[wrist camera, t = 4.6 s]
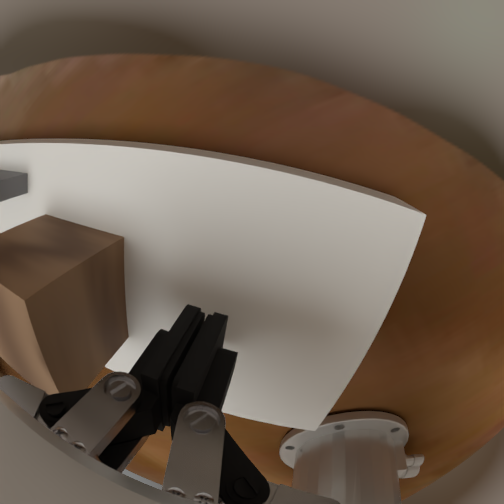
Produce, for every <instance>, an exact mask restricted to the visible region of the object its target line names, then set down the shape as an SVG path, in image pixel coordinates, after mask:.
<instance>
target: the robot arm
mask: <svg viewBox="0 0 504 504" xmlns="http://www.w3.org/2000/svg"><path fill="white" fill-rule="evenodd" d="M204 320H205V321H204ZM227 321H228V315H224V314H220V313H217V312H214V314H213V315H211V314H208V315H207V317H206V319H205V313H204V312H201V308H199V307H196V306H192V305H189V304H187V305H186V306H185V308H184V309H183V311H182V312H181V314H180V315H179V317H178V318H177V320H176V321H175V323H174V324H173V326H172V327H171V328H170V330H169V331H166V330H163V329H160V330H159V331H158V332H157V333H156V335H155V336H154V338H153V339H152V340H151V342H150V343H149V345H148V346H147V347H146V349H145V350H144V352H143V353H142V354H141V356H140V357H139V359H138V360H137V362H136V363H135V364H134V366H133V367H132V369H131V370H130V372H129V373H126V372H112V373H109V374H107V375H106V376H105V377H103V378H102V379H101V380H100V381H99V382H98V383H97V384H96V385H95V386H94V387H93V388H89V389H83V390H77V391H70V392H63V393H56V394H51V395H49V394H47V393H46V391H44V390H42V389H39V388H37V387H35V386H33V385H30V384H28V383H26V382H24V381H22V380H20V379H18V378H16V377H14V376H10V375H7V376H3V377H1V378H0V504H401V495H400V485H399V478H401V479H402V478H410V477H415V476H417V474H418V473H419V470H420V465H422V463H423V461H424V455H423V454H413V455H406V454H405V451H404V446H405V445H406V443H407V441H408V437H409V433H408V428H407V425H406V423H405V421H404V420H403V419H401V418H400V417H398V416H396V415H393V414H390V413H385V412H378V411H355V412H346V413H339V414H334V415H329V416H326V417H325V418H324V420H323V421H322V423H321V424H320V425H319V427H318V428H317V429H316V431H311V430H304V429H297V428H295V429H293V430H292V431H290V432H289V433H288V434H286V435H285V437H284V438H283V439H282V441H281V445H280V452H279V455H280V458H281V460H282V461H283V462H284V463H285V464H286V465H288V466H289V467H291V468H293V469H294V472H293V480H292V487H289V486H286V485H283V484H280V485H277V484H274V483H271V482H269V481H267V480H266V479H265V477H264V476H263V475H262V474H261V473H260V472H259V470H258V469H257V468H256V467H255V466H254V465H253V463H252V462H251V461H250V460H249V459H248V457H247V456H246V455H245V454H244V452H243V451H242V450H241V449H240V447H239V446H238V445H237V444H236V442H235V441H234V440H233V438H232V437H231V436H230V434H229V433H228V432H227V430H226V429H225V424H226V423H225V417H224V415H223V413H222V407H223V404H224V401H225V398H226V395H227V392H228V389H229V385H230V382H231V379H232V375H233V372H234V368H235V364H236V360H237V355H238V352H235V351H231V350H228V349H224V348H223V343H224V338H225V332H226V327H227ZM165 426H169V427H170V426H171V437H172V445H171V450H170V454H169V459H168V463H167V468H166V472H165V477H164V482H163V487H162V490H159V489H156V488H154V487H152V486H149V485H147V484H144V483H142V482H140V481H137V480H135V479H133V478H131V477H128V476H126V475H124V474H122V472H123V471H124V469H125V468H126V467H127V465H128V464H129V463H130V461H131V460H132V459H133V457H134V456H135V455H136V454H137V452H138V451H139V450H140V448H141V447H142V446H143V444H144V443H145V442H146V440H147V439H148V437H149V435H152V434H155V433H156V431H157V429H158V430H160V431H163V430H164V428H165Z"/></svg>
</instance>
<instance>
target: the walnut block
mask: <svg viewBox="0 0 504 504" xmlns="http://www.w3.org/2000/svg"><path fill="white" fill-rule="evenodd" d="M128 337H129V335H128V325H127V313H126V298H125V276H124V237H122V236H119V235H115V234H112V233H108V232H105V231H101V230H98V229H94V228H91V227H87V226H84V225H80V224H77V223H74V222H70V221H67V220H63V219H60V218H57V217H53V216H50V215H47V214H45V215H42V216H40V217H37V218H35V219H32V220H30V221H27V222H25V223H23V224H20V225H18V226H16V227H13V228H11V229H9V230H7V231H4V232H2V233H0V357H1V358H2V359H3V360H4V361H5V362H7V363H8V364H9V365H10V366H11V367H12V368H13V369H14V370H15V371H16V372H18V373H19V374H20V375H21V376H22V377H23V378H25V379H26V380H27V381H28V382H29V383H31V384H32V385H33V386H35V387H37V388H39V389H42V390H44V391H46V393H47V394H49V395H51V394H56V393H63V392H70V391H77V390H83V389H87V387H88V386H89V385H90V384H91V382H92V381H93V380H94V379H95V377H96V376H97V375H98V374H99V372H100V371H101V370H102V369H103V368H104V366H105V365H106V364H107V363H108V361H109V360H110V359H111V358H112V357H113V355H114V354H115V353H116V352H117V351H118V349H119V348H120V347H121V346H122V345H123V343H124V342H125V341H126V340H127V339H128Z"/></svg>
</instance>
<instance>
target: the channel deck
mask: <svg viewBox="0 0 504 504" xmlns="http://www.w3.org/2000/svg"><path fill="white" fill-rule="evenodd" d="M45 214H47V215H50V216H53V217H57V218H60V219H63V220H67V221H70V222H74V223H77V224H80V225H84V226H87V227H91V228H94V229H98V230H101V231H105V232H108V233H112V234H115V235H119V236H122V237H124V276H125V298H126V313H127V325H128V335H129V337H128V339H127V340H126V341H125V342H124V343H123V345H122V346H121V347H120V348H119V349H118V351H117V352H116V353H115V354H114V355H113V357H112V358H111V359H110V360H109V361H108V363H107V364H106V365H105V367H107V368H109V369H111V370H113V371H115V372H126V373H129V372H130V370H131V369H132V367H133V366H134V364H135V363H136V362H137V360H138V359H139V357H140V356H141V354H142V353H143V352H144V350H145V349H146V347H147V346H148V345H149V343H150V342H151V340H152V339H153V338H154V336H155V335H156V333H157V332H158V331H159V330H160V329H163V330H166V331H169V330H170V328H171V327H172V326H173V324H174V323H175V321H176V320H177V318H178V317H179V315H180V314H181V312H182V311H183V309H184V308H185V306H186V305H187V304H189V305H192V306H196V307H199V308H201V312H204V313H205V319H206V317H207V315H208V314H211V315H213V314H214V312H217V313H220V314H224V315H228V321H227V327H226V332H225V338H224V343H223V348H224V349H228V350H231V351H235V352H238V355H237V360H236V364H235V368H234V372H233V375H232V379H231V382H230V385H229V389H228V392H227V395H226V398H225V401H224V404H223V407H222V412H224V413H228V414H231V415H235V416H239V417H243V418H247V419H251V420H256V421H260V422H265V423H270V424H275V425H280V426H286V427H291V428H297V429H304V430H311V431H316V429H317V428H318V427H319V425H320V424H321V423H322V421H323V420H324V418H325V417H326V416H327V414H328V413H329V411H330V410H331V409H332V407H333V406H334V404H335V403H336V401H337V400H338V398H339V397H340V395H341V394H342V392H343V391H344V389H345V388H346V386H347V385H348V383H349V381H350V380H351V378H352V377H353V375H354V373H355V372H356V370H357V368H358V367H359V365H360V363H361V362H362V360H363V358H364V356H365V355H366V353H367V351H368V349H369V348H370V346H371V344H372V342H373V340H374V338H375V336H376V335H377V333H378V331H379V329H380V327H381V325H382V323H383V321H384V319H385V317H386V315H387V313H388V311H389V309H390V307H391V304H392V302H393V300H394V298H395V296H396V294H397V291H398V289H399V287H400V285H401V282H402V280H403V277H404V275H405V273H406V270H407V268H408V265H409V263H410V260H411V258H412V255H413V252H414V250H415V247H416V244H417V241H418V239H419V236H420V233H421V230H422V227H423V224H424V221H425V218H426V214H424V213H422V212H421V211H419V210H417V209H416V208H414V207H412V206H410V205H409V204H407V203H405V202H403V201H402V200H400V199H398V198H396V197H394V196H391V195H388V194H385V193H382V192H379V191H376V190H373V189H370V188H366V187H363V186H360V185H357V184H353V183H350V182H346V181H343V180H339V179H336V178H332V177H329V176H325V175H321V174H317V173H313V172H310V171H306V170H302V169H297V168H293V167H289V166H285V165H280V164H276V163H271V162H266V161H262V160H257V159H252V158H247V157H241V156H236V155H230V154H225V153H219V152H213V151H206V150H200V149H193V148H186V147H178V146H170V145H162V144H152V143H142V142H131V141H117V140H100V139H66V138H50V139H18V140H3V141H0V233H2V232H4V231H7V230H9V229H11V228H13V227H16V226H18V225H20V224H23V223H25V222H27V221H30V220H32V219H35V218H37V217H40V216H42V215H45ZM204 321H205V320H204Z"/></svg>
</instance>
